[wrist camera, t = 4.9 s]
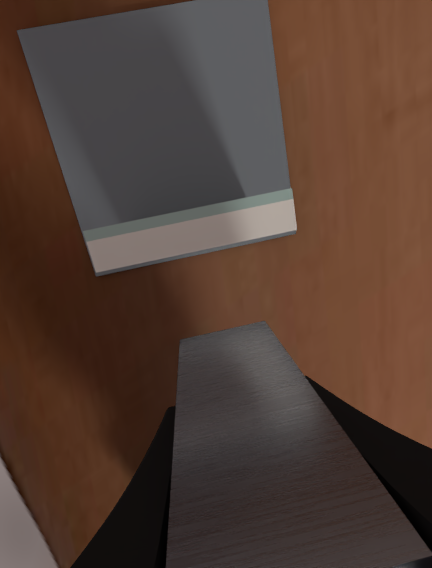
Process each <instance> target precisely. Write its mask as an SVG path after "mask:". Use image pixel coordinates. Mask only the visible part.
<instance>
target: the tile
mask: <svg viewBox="0 0 432 568" xmlns="http://www.w3.org/2000/svg"><path fill="white" fill-rule="evenodd" d="M294 230H297V226H296V218H295V209H294V201H293V193H292V188H290V189H285V190H280V191H275V192H270V193H266V194H261V195H256V196H251V197H246V198H241V199H236V200H232V201H227V202H222V203H217V204H212V205H207V206H202V207H198V208H193V209H188V210H183V211H178V212H173V213H168V214H163V215H159V216H154V217H149V218H144V219H139V220H134V221H129V222H125V223H120V224H115V225H110V226H105V227H100V228H95V229H91V230H86V231H83V234H84V237H85V240H86V243H87V246H88V249H89V252H90V256H91V259H92V262H93V265H94V268H95V271H96V273H97V272H102V271H107V270H111V269H116V268H121V267H125V266H130V265H135V264H140V263H144V262H149V261H154V260H158V259H163V258H168V257H172V256H177V255H182V254H186V253H191V252H196V251H200V250H205V249H210V248H215V247H219V246H224V245H229V244H233V243H238V242H243V241H247V240H252V239H257V238H261V237H266V236H271V235H275V234H280V233H285V232H289V231H294Z"/></svg>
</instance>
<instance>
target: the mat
mask: <svg viewBox="0 0 432 568" xmlns="http://www.w3.org/2000/svg"><path fill="white" fill-rule="evenodd" d="M17 33H18V36H19V39H20V42H21V45H22V48H23V51H24V54H25V58H26V61H27V64H28V67H29V70H30V73H31V76H32V79H33V82H34V86H35V89H36V92H37V95H38V98H39V101H40V104H41V107H42V110H43V113H44V117H45V120H46V123H47V126H48V129H49V132H50V135H51V138H52V141H53V144H54V148H55V151H56V154H57V157H58V160H59V163H60V166H61V169H62V172H63V175H64V179H65V182H66V185H67V188H68V191H69V194H70V197H71V200H72V203H73V207H74V210H75V213H76V216H77V219H78V222H79V225H80V228H81V231H82V234H83V231H86V230H91V229H95V228H100V227H105V226H110V225H115V224H120V223H125V222H129V221H134V220H139V219H144V218H149V217H154V216H159V215H163V214H168V213H173V212H178V211H183V210H188V209H193V208H198V207H202V206H207V205H212V204H217V203H222V202H227V201H232V200H236V199H241V198H246V197H251V196H256V195H261V194H266V193H270V192H275V191H280V190H285V189H290V180H289V172H288V163H287V155H286V147H285V139H284V131H283V123H282V114H281V106H280V98H279V90H278V82H277V74H276V65H275V57H274V49H273V41H272V33H271V24H270V16H269V8H268V0H194V1H188V2H182V3H176V4H171V5H165V6H159V7H153V8H147V9H141V10H135V11H129V12H123V13H117V14H111V15H105V16H99V17H93V18H87V19H81V20H75V21H70V22H64V23H58V24H52V25H46V26H40V27H34V28H28V29H22V30H17ZM292 234H296V230H294V231H289V232H285V233H280V234H275V235H271V236H266V237H261V238H257V239H252V240H247V241H243V242H238V243H233V244H229V245H224V246H219V247H215V248H210V249H205V250H200V251H196V252H191V253H186V254H182V255H177V256H172V257H168V258H163V259H158V260H154V261H149V262H144V263H140V264H135V265H130V266H125V267H121V268H116V269H111V270H107V271H102V272H97V273H96V271H95V268H94V265H93V262H92V259H91V256H90V252H89V249H88V246H87V243H86V240H85V237H84V234H83V238H84V241H85V244H86V247H87V250H88V253H89V256H90V259H91V262H92V265H93V269H94V272H95V275H96V276H101V275H106V274H110V273H115V272H120V271H124V270H129V269H134V268H138V267H143V266H148V265H152V264H157V263H162V262H166V261H171V260H176V259H180V258H185V257H190V256H194V255H199V254H204V253H208V252H213V251H218V250H222V249H227V248H232V247H236V246H241V245H246V244H250V243H255V242H260V241H264V240H269V239H274V238H278V237H283V236H288V235H292Z"/></svg>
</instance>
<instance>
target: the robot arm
mask: <svg viewBox="0 0 432 568" xmlns="http://www.w3.org/2000/svg"><path fill="white" fill-rule="evenodd" d="M305 378H306V379H307V380H308V382H309V383H310V384H311V386H312V387H313V389H314V390H315V391H316V393H317V394H318V396H319V397H320V398H321V400H322V401H323V403H324V404H325V405H326V407H327V408H328V409H329V411H330V412H331V414H332V415H333V416H334V418H335V419H336V421H337V422H338V423H339V425H340V426H341V427H342V429H343V430H344V432H345V433H346V434H347V436H348V437H349V439H350V440H351V441H352V443H353V444H354V445H355V447H356V448H357V450H358V451H359V452H360V454H361V455H362V457H363V458H364V459H365V461H366V462H367V463H368V465H369V466H370V468H371V469H372V470H373V472H374V473H375V475H376V476H377V477H378V479H379V480H380V482H381V483H382V484H383V486H384V487H385V488H386V490H387V491H388V493H389V494H390V495H391V497H392V498H393V500H394V501H395V502H396V504H397V505H398V506H399V508H400V509H401V511H402V512H403V513H404V515H405V516H406V518H407V519H408V520H409V522H410V523H411V524H412V526H413V527H414V529H415V530H416V531H417V533H418V534H419V536H420V537H421V538H422V540H423V541H424V543H425V544H426V545H427V547H428V548H429V549H430V551H431V552H432V449H431V448H429V447H427V446H424V445H422V444H420V443H418V442H416V441H414V440H412V439H410V438H408V437H406V436H404V435H402V434H400V433H398V432H396V431H394V430H392V429H390V428H388V427H386V426H384V425H383V424H381V423H379V422H377V421H376V420H374V419H372V418H370V417H368V416H367V415H365V414H363V413H362V412H360V411H358V410H357V409H355V408H354V407H352V406H350V405H349V404H347V403H346V402H344V401H343V400H341V399H340V398H338V397H337V396H335V395H334V394H332V393H331V392H329V391H328V390H326V389H325V388H323V387H322V386H320V385H319V384H318V383H316V382H315V381H313V380H312V379H310V378H309V377H307V376H305ZM175 411H176V406H173V407H169V408H168V409H167V411H166V413H165V415H164V418H163V420H162V422H161V424H160V427H159V429H158V431H157V433H156V435H155V437H154V439H153V441H152V443H151V445H150V447H149V449H148V451H147V453H146V455H145V457H144V459H143V461H142V462H141V464H140V466H139V468H138V469H137V471H136V473H135V475H134V476H133V478H132V480H131V482H130V483H129V485H128V487H127V488H126V490H125V491H124V493H123V495H122V496H121V498H120V499H119V501H118V503H117V504H116V506H115V507H114V509H113V510H112V512H111V513H110V515H109V516H108V518H107V519H106V520H105V522H104V523H103V525H102V526H101V527H100V529H99V530H98V532H97V533H96V534H95V536H94V537H93V538H92V540H91V541H90V543H89V544H88V545H87V547H86V548H85V549H84V551H83V552H82V553H81V555H80V556H79V557H78V558H77V560H76V561H75V562H74V564H73V565H72V566H71V567H70V568H166V556H167V540H168V524H169V507H170V491H171V475H172V459H173V443H174V427H175Z"/></svg>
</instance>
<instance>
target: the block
mask: <svg viewBox="0 0 432 568" xmlns="http://www.w3.org/2000/svg"><path fill="white" fill-rule="evenodd" d="M166 568H432V552H431V551H430V549H429V548H428V547H427V545H426V544H425V543H424V541H423V540H422V538H421V537H420V536H419V534H418V533H417V531H416V530H415V529H414V527H413V526H412V524H411V523H410V522H409V520H408V519H407V518H406V516H405V515H404V513H403V512H402V511H401V509H400V508H399V506H398V505H397V504H396V502H395V501H394V500H393V498H392V497H391V495H390V494H389V493H388V491H387V490H386V488H385V487H384V486H383V484H382V483H381V482H380V480H379V479H378V477H377V476H376V475H375V473H374V472H373V470H372V469H371V468H370V466H369V465H368V463H367V462H366V461H365V459H364V458H363V457H362V455H361V454H360V452H359V451H358V450H357V448H356V447H355V445H354V444H353V443H352V441H351V440H350V439H349V437H348V436H347V434H346V433H345V432H344V430H343V429H342V427H341V426H340V425H339V423H338V422H337V421H336V419H335V418H334V416H333V415H332V414H331V412H330V411H329V409H328V408H327V407H326V405H325V404H324V403H323V401H322V400H321V398H320V397H319V396H318V394H317V393H316V391H315V390H314V389H313V387H312V386H311V384H310V383H309V382H308V380H307V379H306V378H305V376H304V375H303V373H302V372H301V371H300V369H299V368H298V366H297V365H296V364H295V362H294V361H293V360H292V358H291V357H290V355H289V354H288V353H287V351H286V350H285V348H284V347H283V346H282V344H281V343H280V342H279V340H278V339H277V337H276V336H275V335H274V333H273V332H272V330H271V329H270V328H269V326H268V325H267V323H266V322H265V321H262V322H258V323H253V324H249V325H244V326H240V327H235V328H231V329H226V330H222V331H217V332H213V333H208V334H204V335H200V336H195V337H191V338H186V339H182V340H180V346H179V362H178V379H177V395H176V411H175V427H174V443H173V459H172V475H171V491H170V507H169V524H168V540H167V556H166Z"/></svg>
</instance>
